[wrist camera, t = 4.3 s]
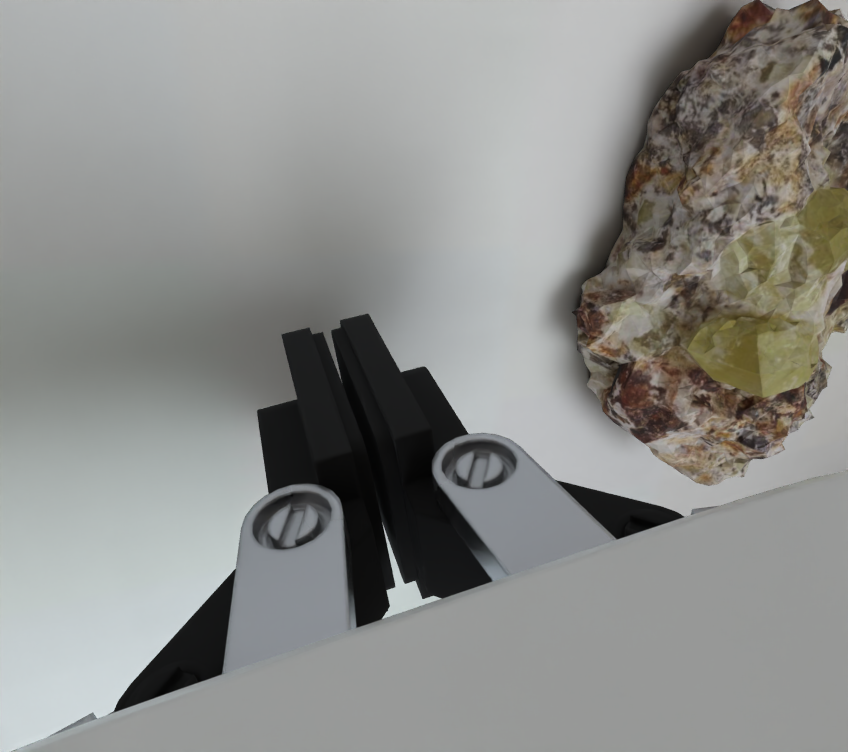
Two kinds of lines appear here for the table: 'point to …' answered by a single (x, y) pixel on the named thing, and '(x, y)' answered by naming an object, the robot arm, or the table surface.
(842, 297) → the mineral rock
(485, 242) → the table surface
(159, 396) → the table surface
